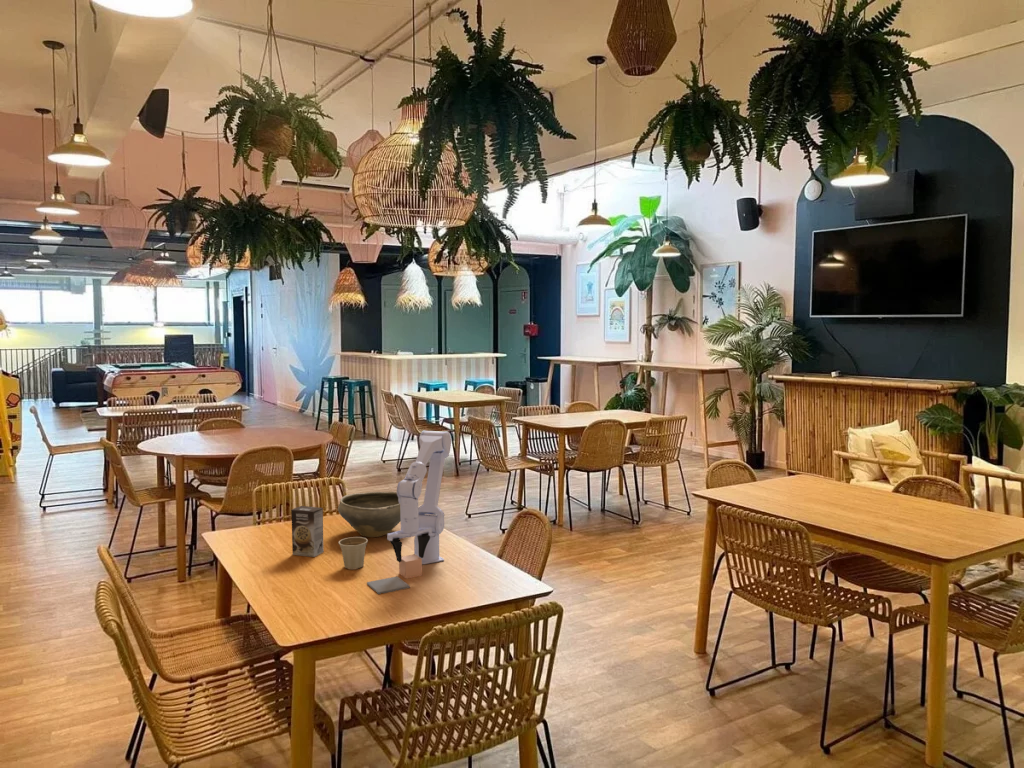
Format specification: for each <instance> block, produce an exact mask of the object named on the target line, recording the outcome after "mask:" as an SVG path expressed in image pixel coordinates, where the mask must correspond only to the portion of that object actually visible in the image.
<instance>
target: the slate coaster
mask: <svg viewBox="0 0 1024 768" xmlns="http://www.w3.org/2000/svg"><path fill="white" fill-rule="evenodd" d="M366 585H367V586H368V587H369V588H371V589H372V590H373V591H374V592H375V591H376V592H377V593H376V594H377V595H381V593H383V594H386V593H387V594H388V593H391V592H396V590H397V591H401V589H402V590H406V588H407V589H410V585H409V584H408V583H407V582H405V581H404V580H403V579H401V577H399V576H393V577H386V578H381V579H376V580H372V581H367V582H366Z"/></svg>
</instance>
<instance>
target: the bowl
mask: <svg viewBox="0 0 1024 768" xmlns="http://www.w3.org/2000/svg"><path fill="white" fill-rule="evenodd" d="M337 511H338V513H339V515H340V516H341V518H342V519H343V520H344V521H346V522H347V523H348V524H349V525H350V526H351V527H352V528H353V529H354V530H355V531H356V532H357V533H358V534H360V535H361V537H362V536H363V537H365V538H366V537H368V538H377V537H378V538H379V537H382V536H385V535H386V536H387V534H388V533H392V531H393V530H394V528H395V527H396V526H398V525H399V523H401V517H400V503H399V502H398V496H397V491H371V492H370V491H369V492H360V493H359V492H358V493H352V494H351V493H350V494H346V495H344V496H342V497H341V498H340V500H339V504H338V507H337Z"/></svg>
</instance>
